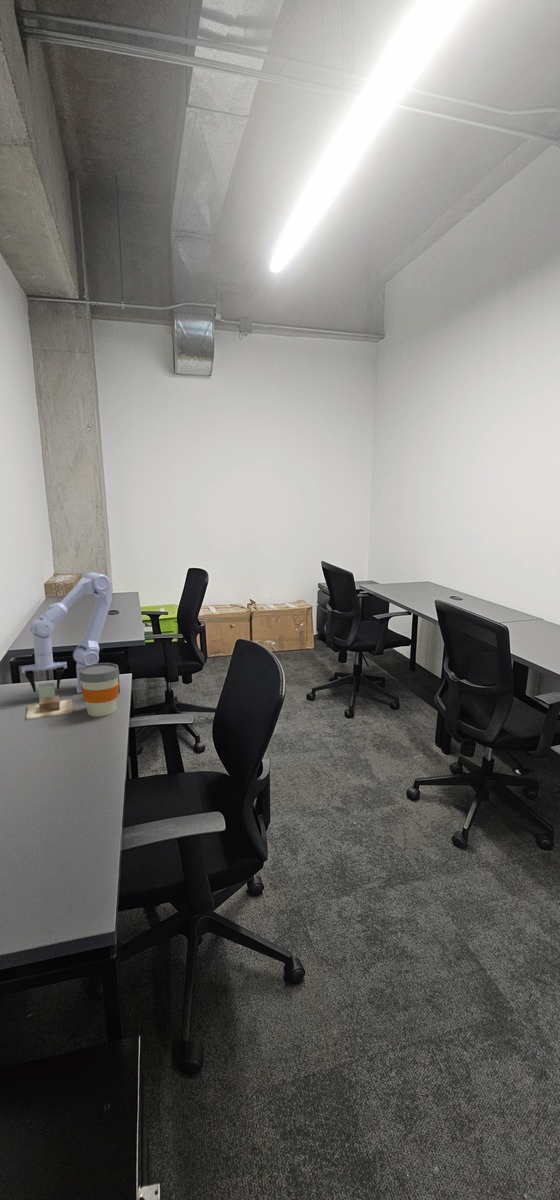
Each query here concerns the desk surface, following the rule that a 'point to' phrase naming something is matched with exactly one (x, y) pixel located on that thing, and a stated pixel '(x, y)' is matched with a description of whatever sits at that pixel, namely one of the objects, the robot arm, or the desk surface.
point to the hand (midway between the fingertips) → (46, 689)
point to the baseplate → (37, 714)
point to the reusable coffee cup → (100, 688)
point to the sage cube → (46, 690)
